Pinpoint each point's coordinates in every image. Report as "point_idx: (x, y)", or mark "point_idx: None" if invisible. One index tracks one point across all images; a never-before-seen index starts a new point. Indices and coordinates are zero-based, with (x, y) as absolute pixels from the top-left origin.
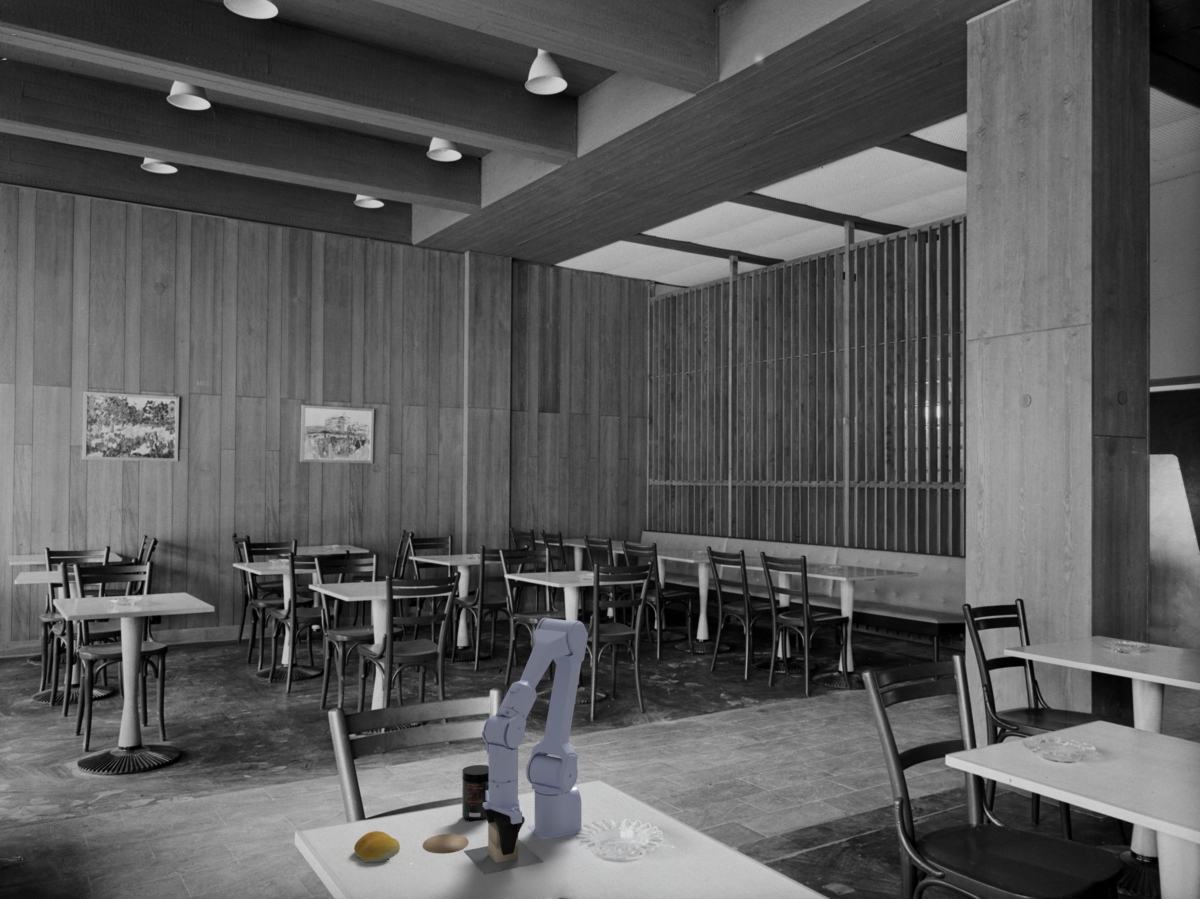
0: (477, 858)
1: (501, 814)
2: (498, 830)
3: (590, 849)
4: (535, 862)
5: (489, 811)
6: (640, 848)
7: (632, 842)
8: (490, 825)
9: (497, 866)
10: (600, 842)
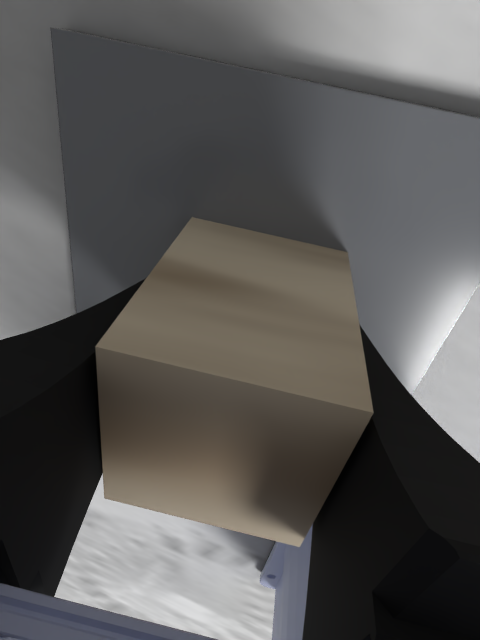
0: (343, 149)
1: (332, 572)
2: (75, 362)
3: (141, 525)
4: None
5: (409, 573)
6: (82, 574)
7: (127, 585)
8: (296, 392)
9: (137, 190)
10: (173, 560)
